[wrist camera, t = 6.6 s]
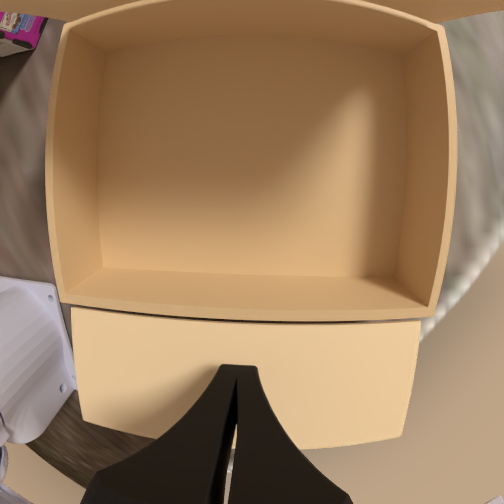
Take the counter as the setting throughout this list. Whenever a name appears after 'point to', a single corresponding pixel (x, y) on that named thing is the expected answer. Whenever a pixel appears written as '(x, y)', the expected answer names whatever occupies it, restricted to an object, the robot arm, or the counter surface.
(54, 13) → the near flap
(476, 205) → the counter surface
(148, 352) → the far flap
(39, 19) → the candy bar box
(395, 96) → the carton
